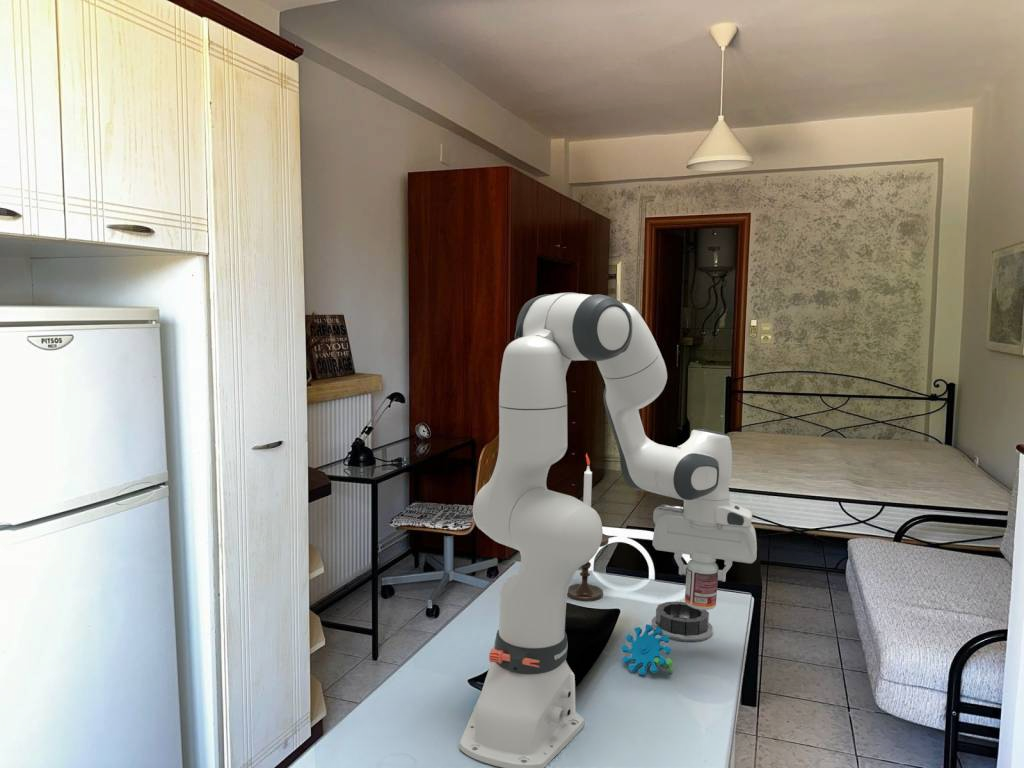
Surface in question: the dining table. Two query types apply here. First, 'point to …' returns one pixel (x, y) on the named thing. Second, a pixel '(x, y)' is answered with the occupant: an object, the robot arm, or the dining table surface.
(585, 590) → the candlestick
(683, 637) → the notched hollow ring
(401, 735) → the dining table surface
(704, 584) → the pill bottle
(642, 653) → the gear
